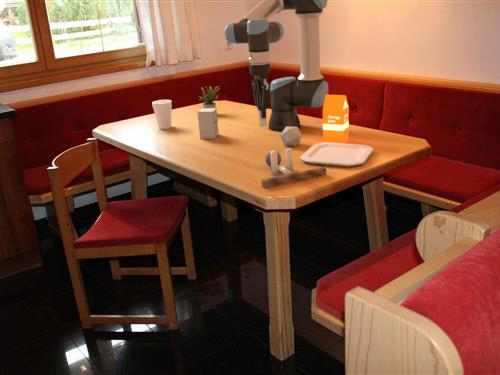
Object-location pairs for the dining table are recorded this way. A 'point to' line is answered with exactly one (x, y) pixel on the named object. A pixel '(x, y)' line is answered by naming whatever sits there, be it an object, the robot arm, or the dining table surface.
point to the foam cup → (163, 113)
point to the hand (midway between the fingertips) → (262, 125)
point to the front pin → (284, 170)
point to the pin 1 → (274, 163)
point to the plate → (337, 154)
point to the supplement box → (208, 123)
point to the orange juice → (335, 119)
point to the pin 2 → (289, 159)
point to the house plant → (209, 98)
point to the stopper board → (293, 177)
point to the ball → (268, 159)
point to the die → (291, 136)
